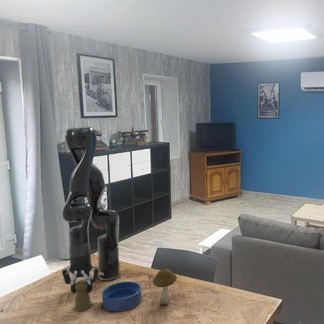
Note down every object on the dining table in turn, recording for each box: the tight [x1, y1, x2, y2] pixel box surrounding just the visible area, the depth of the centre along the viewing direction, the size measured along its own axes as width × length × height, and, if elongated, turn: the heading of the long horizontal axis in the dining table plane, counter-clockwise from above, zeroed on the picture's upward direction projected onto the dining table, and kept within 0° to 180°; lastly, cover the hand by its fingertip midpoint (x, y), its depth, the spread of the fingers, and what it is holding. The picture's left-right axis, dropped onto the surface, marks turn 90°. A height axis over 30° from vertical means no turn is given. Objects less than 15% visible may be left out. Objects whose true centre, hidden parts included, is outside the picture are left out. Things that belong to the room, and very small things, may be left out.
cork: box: [74, 279, 92, 312], centre depth 137 cm, size 6×6×11 cm
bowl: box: [101, 280, 143, 312], centre depth 142 cm, size 15×15×6 cm
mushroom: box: [152, 268, 178, 306], centre depth 141 cm, size 9×11×15 cm
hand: (82, 292), depth 137 cm, fingers closed on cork, 5 cm apart
